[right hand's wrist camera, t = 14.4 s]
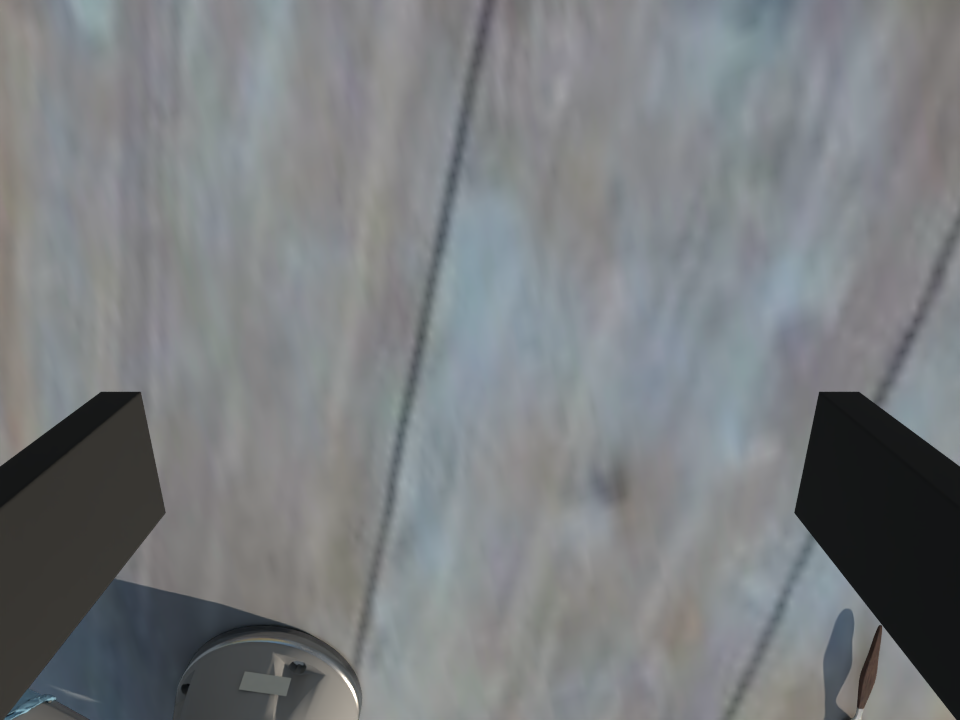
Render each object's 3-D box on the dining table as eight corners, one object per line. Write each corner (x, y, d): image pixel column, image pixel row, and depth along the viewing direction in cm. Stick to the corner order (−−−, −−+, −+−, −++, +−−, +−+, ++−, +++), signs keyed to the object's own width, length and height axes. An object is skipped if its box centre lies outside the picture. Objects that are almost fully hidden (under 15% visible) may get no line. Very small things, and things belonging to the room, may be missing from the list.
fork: (893, 620, 53) (908, 638, 51) (858, 758, 59) (870, 779, 57) (861, 621, 53) (875, 639, 51) (829, 759, 59) (840, 780, 57)
